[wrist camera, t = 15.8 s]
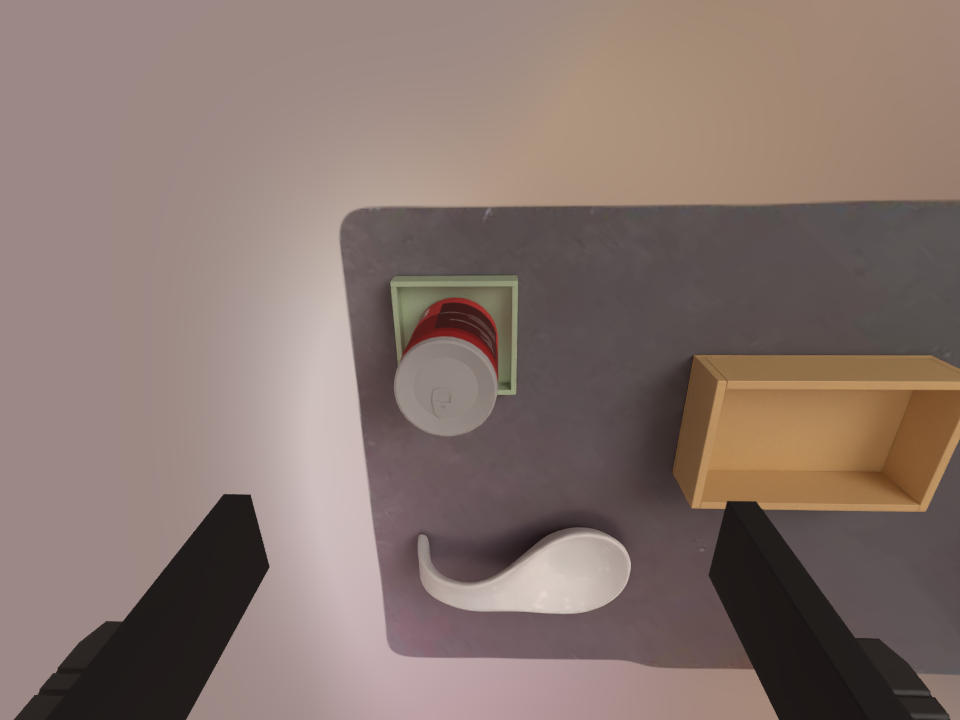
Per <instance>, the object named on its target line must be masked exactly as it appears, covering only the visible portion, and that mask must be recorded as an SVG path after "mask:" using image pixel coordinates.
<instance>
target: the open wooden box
mask: <svg viewBox="0 0 960 720" xmlns="http://www.w3.org/2000/svg"><path fill="white" fill-rule="evenodd" d="M959 439H960V369H958V368H956V367H954V366H952V365H950V364H948V363H946V362H944V361H942V360H940V359H937V358H935V357H934V356H932V355H694V357H693V362H692V368H691V373H690V379H689V384H688V390H687V395H686V401H685V406H684V412H683V417H682V423H681V428H680V433H679V439H678V444H677V450H676V455H675V461H674V466H673V472H672V473H673V475H674V477H675V478H676V480H677V482H678V484H679V486H680V488H681V490H682V492H683V494H684V495H685V497H686V499H687V501H688V503H689V505H690V507H691V508H700V509H725V508H726V504H727V501H756V502H757V503H758V505H759V506H760V507H761V509H766V510H838V511H910V512H917V511H920V512H925V511H926V510H927V508H928V505H929V503H930V501H931V499H932V497H933V495H934V493H935V490H936V488H937V486H938V484H939V482H940V480H941V478H942V475H943V473H944V471H945V469H946V467H947V465H948V463H949V460H950V458H951V456H952V454H953V452H954V450H955V448H956V445H957V443H958V441H959Z"/></svg>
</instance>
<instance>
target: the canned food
mask: <svg viewBox="0 0 960 720" xmlns="http://www.w3.org/2000/svg"><path fill="white" fill-rule="evenodd" d="M497 393H498V333H497V328H496V325H495V323H494V320H493V319H492V317H491V316H490V314H489V313H488V312H487V311H486V310H485V309H484V308H483V307H482V306H480V305H479V304H478V303H476V302H473V301H471V300H469V299H465V298H447V299H443V300H441V301H438V302H436V303H434V304H433V305H431V306H430V307H429V308H428V309H427V310H426V311H425V312H424V313H423V315H422V316H421V318H420V319H419V321H418V323H417V326H416V328H415V330H414V332H413V334H412V336H411V338H410V340H409V342H408V344H407V347H406V349H405V351H404V353H403V355H402V357H401V360H400V362H399V365H398V367H397V370H396V374H395V380H394V394H395V398H396V402H397V404H398V406H399V408H400V410H401V412H402V413H403V415H404V416H405V417H406V419H407V420H409V421H410V422H411V423H412V424H413V425H414V426H416V427H417V428H419V429H421V430H422V431H425V432H427V433H430V434H433V435H438V436H456V435H461V434H464V433H467V432H470V431H472V430H473V429H475V428H477V427H478V426H479V425H481V424H482V423H483V422H484V421H485V420H486V419H487V417H488V416H489V415H490V413H491V411H492V409H493V407H494V405H495V401H496V397H497Z"/></svg>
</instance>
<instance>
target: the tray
mask: <svg viewBox="0 0 960 720" xmlns="http://www.w3.org/2000/svg"><path fill="white" fill-rule="evenodd" d="M390 285H391V296H392V306H393V317H394V328H395V339H396V349H397V360H398V365H399V362H400V360H401V357H402V355H403V353H404V351H405V349H406V347H407V344H408V342H409V340H410V338H411V336H412V334H413V332H414V330H415V328H416V326H417V323H418V321H419V319H420V318H421V316H422V315H423V313H424V312H425V311H426V310H427V309H428V308H429V307H430V306H431V305H433V304H434V303H436V302H438V301H441V300H443V299H447V298H465V299H469V300H471V301H473V302H476V303H478V304H479V305H480V306H482V307H483V308H484V309H485V310H486V311H487V312H488V313H489V314H490V316H491V317H492V319H493V320H494V323H495V325H496V328H497V333H498V393H497V395H516V366H517V310H518V278H517V275H500V276H395V277H394V278H393V279H392V280H391V282H390Z"/></svg>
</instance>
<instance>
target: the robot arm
mask: <svg viewBox="0 0 960 720" xmlns="http://www.w3.org/2000/svg"><path fill="white" fill-rule="evenodd" d="M268 569H269V563H268V559H267V555H266V552H265V548H264V544H263V541H262V537H261V533H260V529H259V525H258V521H257V518H256V514H255V510H254V506H253V502H252V499H251V495H239V494H238V495H236V494H224V495H223V496H222V497H221V498H220V500H219V501H218V503H217V504H216V505H215V506H214V507H213V509H212V510H211V511H210V512H209V514H208V515H207V516H206V517H205V519H204V520H203V521H202V522H201V524H200V525H199V526H198V527H197V529H196V530H195V531H194V532H193V534H192V535H191V536H190V538H189V539H188V540H187V541H186V543H185V544H184V545H183V546H182V548H181V549H180V550H179V552H178V553H177V554H176V555H175V557H174V558H173V559H172V560H171V562H170V563H169V564H168V566H167V567H166V568H165V569H164V570H163V572H162V573H161V574H160V576H159V577H158V578H157V579H156V580H155V582H154V583H153V584H152V586H151V587H150V588H149V589H148V591H147V592H146V593H145V594H144V596H143V597H142V598H141V599H140V601H139V602H138V603H137V604H136V606H135V607H134V608H133V609H132V611H131V612H130V613H129V614H128V616H127V617H126V618H125V620H124V621H123V622H116V621H115V622H113V621H106V622H105V623H104V624H102V625H101V626H100V627H98V628H97V629H96V630H95V631H94V632H92V633H91V634H90V635H88V636H87V637H86V638H85V639H83V640H82V641H81V642H79V644H78V645H77V646H76V647H75V648H74V649H73V651H72V652H71V653H70V654H69V655H68V656H67V658H66V659H65V660H64V661H63V662H62V664H61V665H60V666H59V667H58V670H57V672H56V673H53V674H52V675H51V677H50V678H49V679H48V680H47V681H46V683H45V684H44V685H43V686H42V687H41V689H40V691H39V693H38V695H34V697H33V698H32V699H31V700H30V701H29V702H28V704H27V705H26V706H25V707H24V708H23V710H22V711H21V712H20V713H19V714H18V716H17V717H16V718H15V719H14V720H186V719H187V717H188V715H189V713H190V711H191V710H192V708H193V706H194V704H195V702H196V701H197V699H198V697H199V695H200V693H201V691H202V689H203V688H204V686H205V684H206V682H207V680H208V679H209V677H210V675H211V673H212V671H213V669H214V667H215V666H216V664H217V662H218V660H219V658H220V657H221V655H222V653H223V651H224V649H225V647H226V646H227V644H228V642H229V640H230V638H231V636H232V635H233V632H234V631H235V629H236V627H237V625H238V624H239V622H240V620H241V618H242V616H243V615H244V613H245V611H246V609H247V607H248V605H249V604H250V602H251V600H252V598H253V596H254V594H255V593H256V591H257V589H258V587H259V585H260V583H261V582H262V580H263V578H264V576H265V574H266V572H267V571H268ZM709 577H710V579H711V581H712V583H713V585H714V587H715V589H716V591H717V593H718V595H719V598H720V600H721V602H722V604H723V606H724V608H725V610H726V612H727V614H728V616H729V618H730V620H731V622H732V624H733V626H734V628H735V630H736V632H737V634H738V636H739V639H740V641H741V643H742V645H743V647H744V649H745V651H746V653H747V655H748V657H749V659H750V661H751V663H752V665H753V667H754V669H755V671H756V673H757V675H758V677H759V680H760V682H761V684H762V686H763V687H764V690H765V692H766V694H767V696H768V698H769V700H770V702H771V704H772V706H773V708H774V710H775V712H776V714H777V716H778V718H779V720H950V718H949V715H948V713H947V712H946V711H945V710H944V708H943V707H942V706H941V704H940V703H939V702H938V701H937V699H936V698H935V697H932V696H931V694H930V691H929V689H928V688H927V687H926V685H925V684H924V683H923V682H922V680H921V679H920V678H919V677H918V675H917V674H916V673H915V672H914V670H913V669H912V668H911V666H910V665H909V664H908V663H907V662H906V661H905V660H903V659H902V658H901V657H900V656H899V655H897V654H896V653H895V652H894V651H893V650H892V649H890V648H889V647H888V646H887V645H886V644H884V643H883V642H882V641H881V640H880V639H871V638H855V637H854V636H853V634H852V633H851V632H850V630H849V629H848V628H847V626H846V625H845V623H844V622H843V621H842V619H841V618H840V616H839V615H838V614H837V612H836V611H835V610H834V608H833V607H832V605H831V604H830V603H829V601H828V600H827V599H826V597H825V596H824V594H823V593H822V592H821V590H820V589H819V587H818V586H817V585H816V583H815V582H814V581H813V579H812V578H811V576H810V575H809V574H808V572H807V571H806V569H805V568H804V567H803V565H802V564H801V563H800V561H799V560H798V558H797V557H796V556H795V554H794V553H793V552H792V550H791V549H790V547H789V546H788V545H787V543H786V542H785V540H784V539H783V538H782V536H781V535H780V534H779V532H778V531H777V529H776V528H775V527H774V525H773V524H772V522H771V521H770V520H769V518H768V517H767V516H766V514H765V513H764V511H763V510H762V509H761V507H760V506H759V505H758V503H757V502H756V501H727V504H726V508H725V512H724V516H723V520H722V524H721V528H720V532H719V536H718V540H717V544H716V548H715V552H714V556H713V560H712V564H711V568H710V572H709Z"/></svg>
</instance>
